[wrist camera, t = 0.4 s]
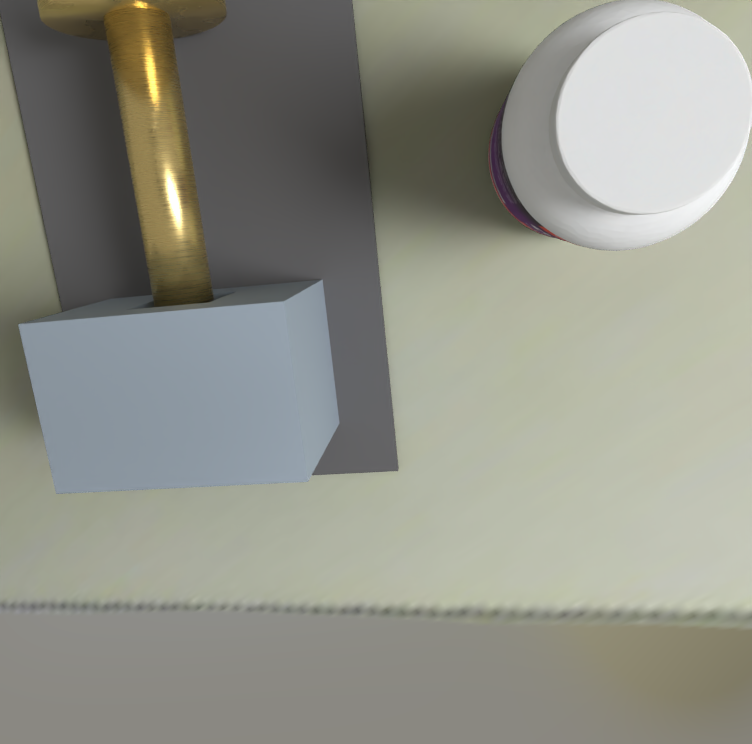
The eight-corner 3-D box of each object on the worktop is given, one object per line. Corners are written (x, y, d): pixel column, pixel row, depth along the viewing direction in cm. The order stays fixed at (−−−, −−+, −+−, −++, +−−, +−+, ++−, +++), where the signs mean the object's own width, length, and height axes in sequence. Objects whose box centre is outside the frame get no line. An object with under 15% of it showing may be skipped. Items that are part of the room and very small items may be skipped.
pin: (93, 16, 34) (-11, -37, 26) (244, -7, 33) (180, -69, 25) (157, 369, 38) (82, 411, 30) (292, 359, 37) (250, 400, 29)
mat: (-6, -31, 34) (-10, -33, 34) (343, -89, 32) (342, -92, 32) (101, 483, 41) (99, 485, 40) (398, 468, 38) (397, 470, 38)
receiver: (113, 298, 38) (18, 324, 30) (323, 278, 36) (283, 301, 28) (139, 433, 40) (56, 493, 31) (340, 421, 38) (307, 481, 30)
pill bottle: (504, 253, 35) (534, 287, 21) (472, 91, 33) (482, 10, 19) (667, 215, 33) (816, 225, 20) (643, 44, 32) (786, -79, 18)
